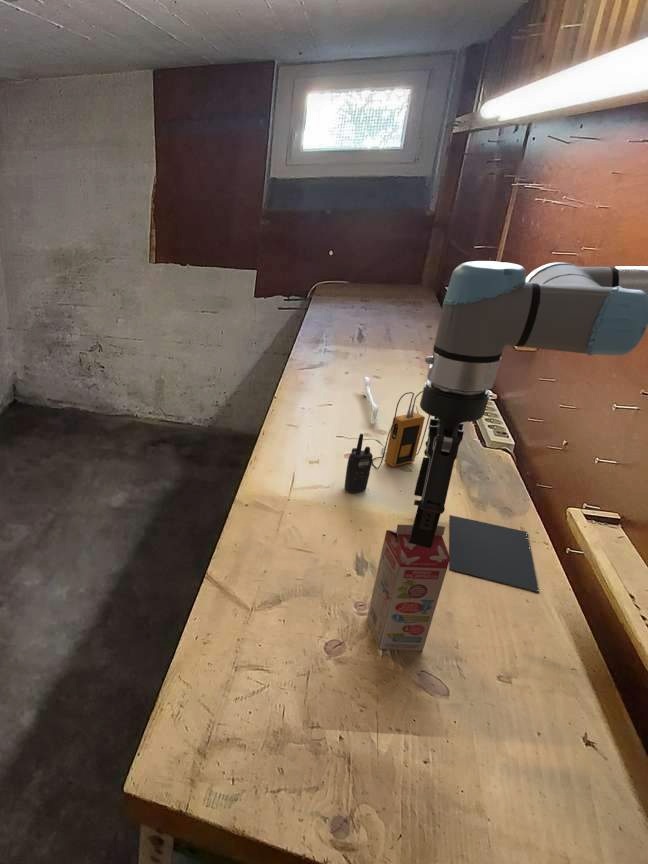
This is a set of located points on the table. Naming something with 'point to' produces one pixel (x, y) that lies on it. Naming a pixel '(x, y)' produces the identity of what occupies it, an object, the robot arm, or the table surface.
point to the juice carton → (406, 589)
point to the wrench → (370, 399)
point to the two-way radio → (358, 468)
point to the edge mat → (491, 553)
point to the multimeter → (404, 437)
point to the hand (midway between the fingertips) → (421, 518)
